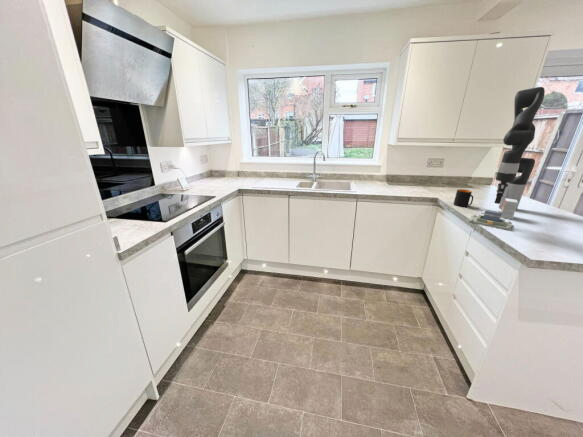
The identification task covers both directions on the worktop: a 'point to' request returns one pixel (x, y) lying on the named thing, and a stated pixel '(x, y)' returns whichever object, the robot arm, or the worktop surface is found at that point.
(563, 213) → the worktop surface
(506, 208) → the small box
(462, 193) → the mug
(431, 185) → the worktop surface
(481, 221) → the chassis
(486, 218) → the servo
